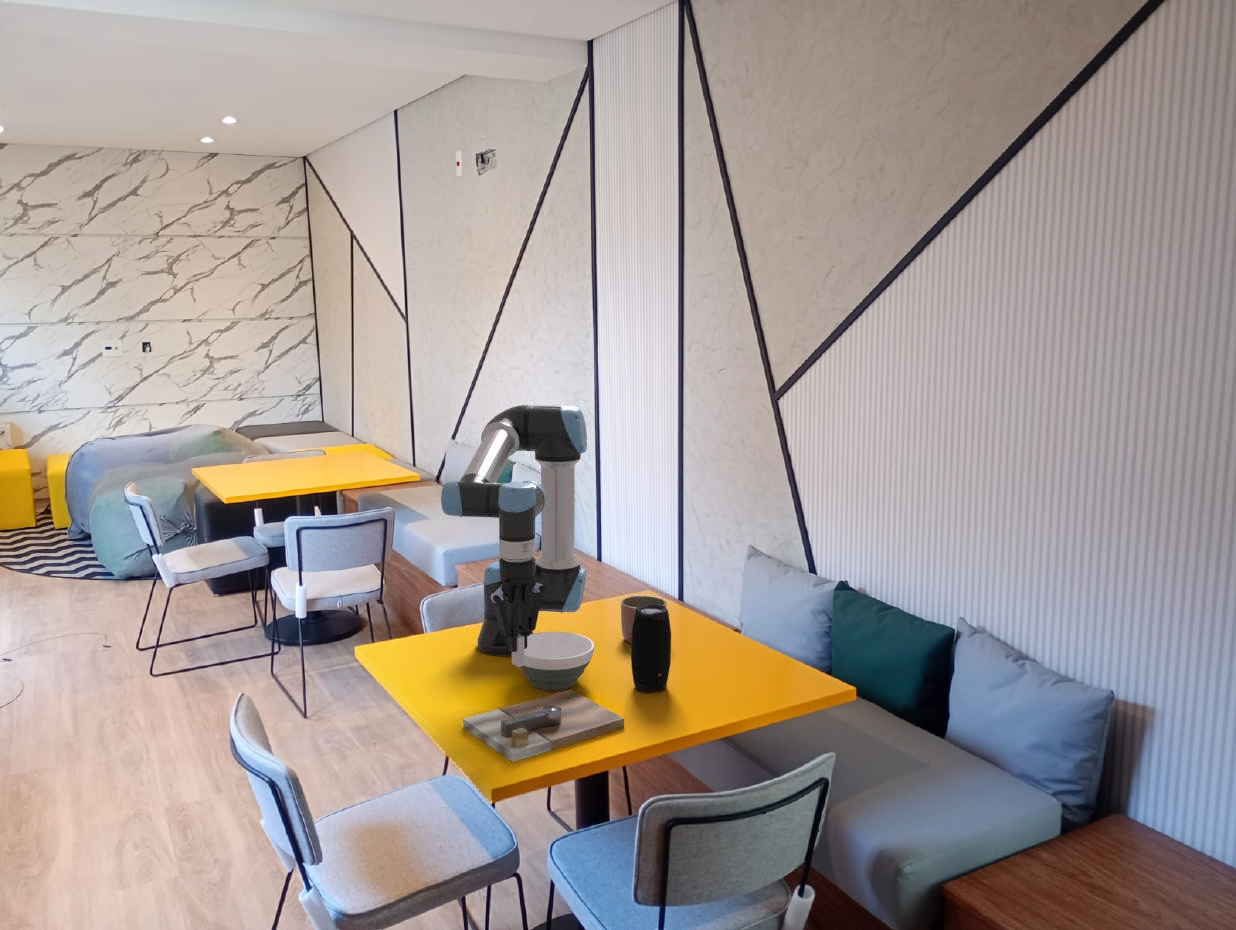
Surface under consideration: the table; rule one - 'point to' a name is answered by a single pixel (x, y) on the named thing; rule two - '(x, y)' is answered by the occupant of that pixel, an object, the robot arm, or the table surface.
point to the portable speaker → (651, 648)
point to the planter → (629, 611)
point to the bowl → (556, 659)
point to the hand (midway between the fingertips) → (518, 664)
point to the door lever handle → (532, 720)
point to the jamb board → (575, 726)
